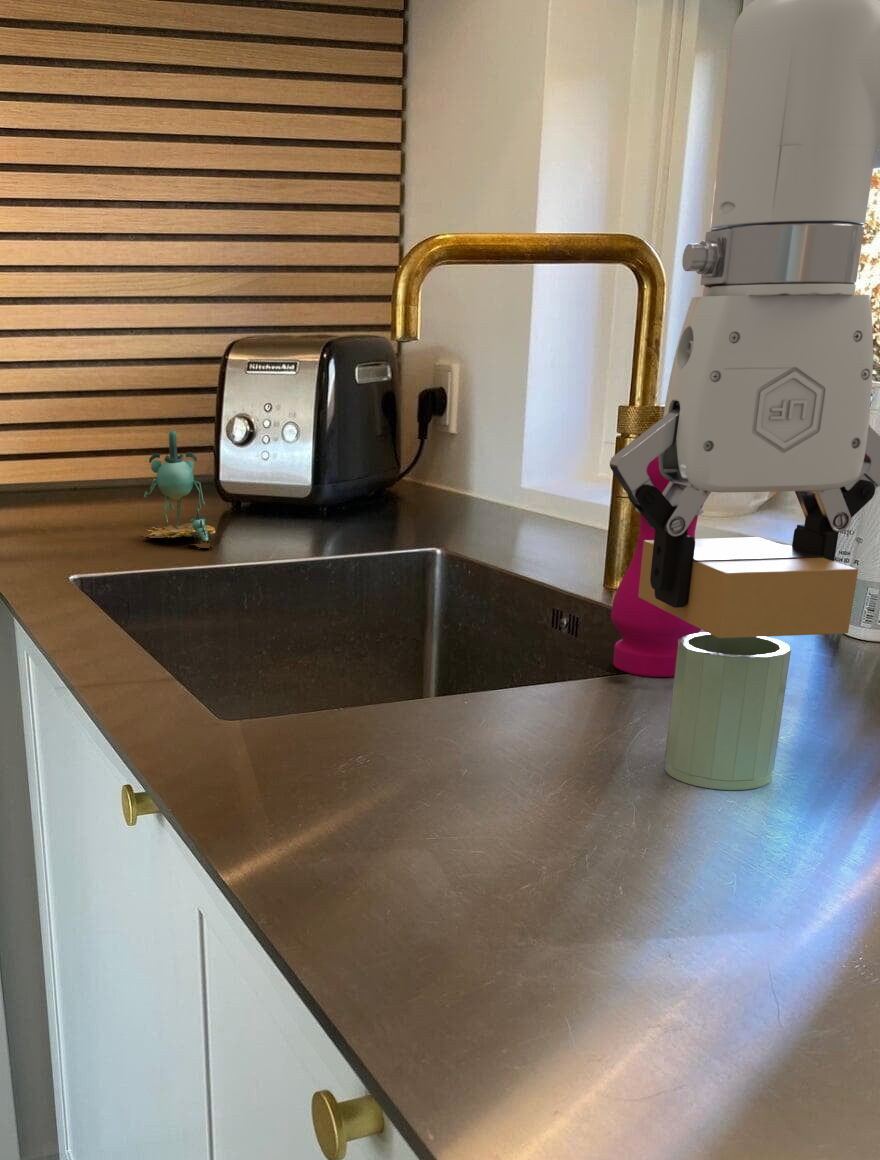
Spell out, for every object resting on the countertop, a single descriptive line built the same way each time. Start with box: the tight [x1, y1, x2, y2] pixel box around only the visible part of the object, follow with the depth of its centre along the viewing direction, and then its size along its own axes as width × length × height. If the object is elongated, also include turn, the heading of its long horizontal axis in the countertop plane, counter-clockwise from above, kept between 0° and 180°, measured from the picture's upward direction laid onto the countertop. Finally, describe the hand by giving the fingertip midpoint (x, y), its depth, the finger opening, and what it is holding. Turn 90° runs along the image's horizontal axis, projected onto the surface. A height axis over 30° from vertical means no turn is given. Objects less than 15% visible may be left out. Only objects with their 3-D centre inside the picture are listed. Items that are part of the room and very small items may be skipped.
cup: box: [664, 631, 792, 791], centre depth 73 cm, size 6×6×8 cm
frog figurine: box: [143, 429, 216, 550], centre depth 156 cm, size 10×18×15 cm, turn 13°
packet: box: [638, 536, 859, 638], centre depth 70 cm, size 11×7×4 cm
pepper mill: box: [610, 456, 705, 678], centre depth 93 cm, size 7×7×20 cm
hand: (738, 598), depth 70 cm, fingers closed on packet, 7 cm apart
